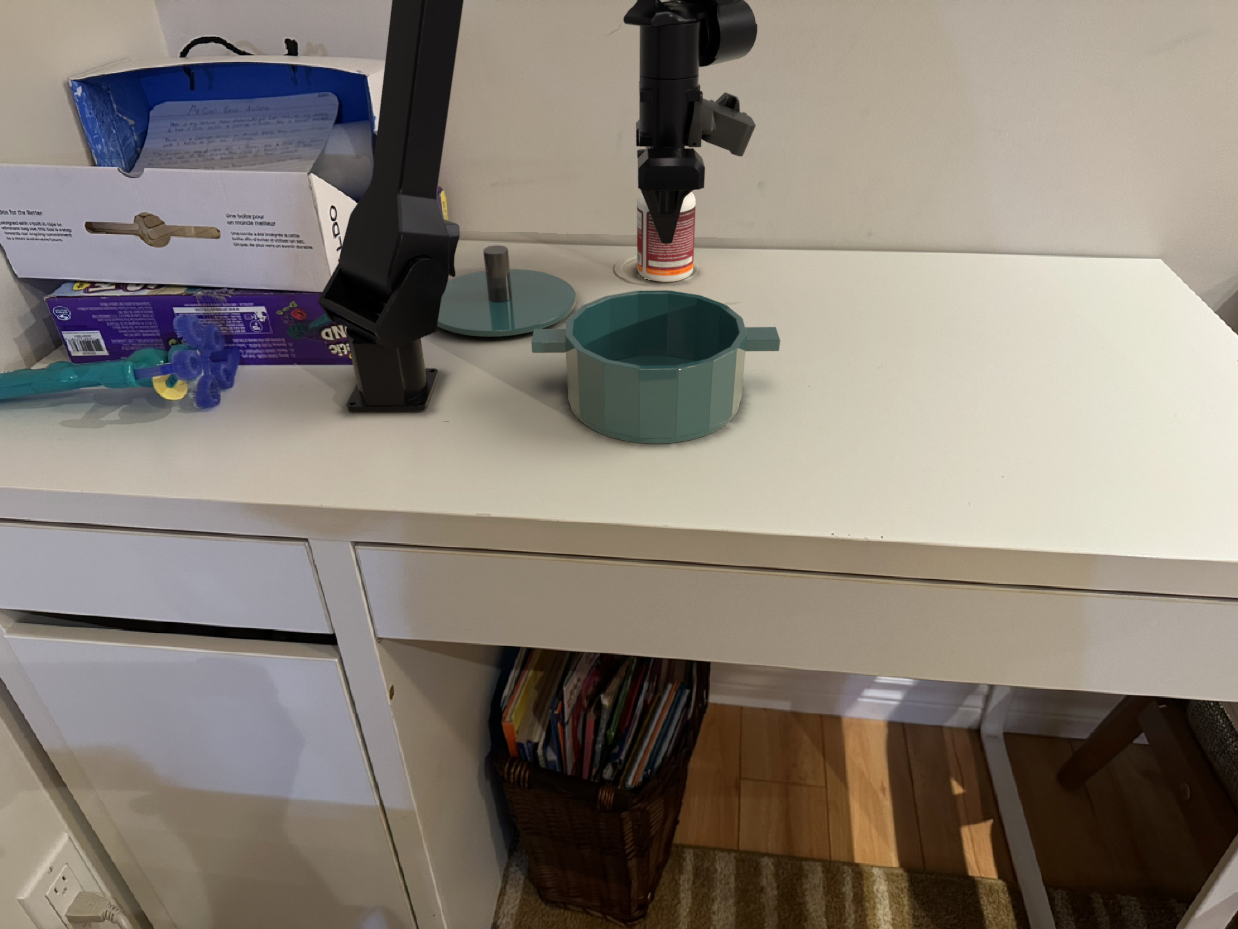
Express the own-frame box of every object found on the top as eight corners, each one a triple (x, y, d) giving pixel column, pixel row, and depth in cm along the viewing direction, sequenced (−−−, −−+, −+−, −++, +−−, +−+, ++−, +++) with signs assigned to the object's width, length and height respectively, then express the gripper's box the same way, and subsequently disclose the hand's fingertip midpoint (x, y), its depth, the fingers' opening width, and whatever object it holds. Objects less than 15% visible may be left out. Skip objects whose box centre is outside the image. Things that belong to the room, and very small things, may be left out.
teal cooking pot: (784, 443, 65) (794, 368, 61) (529, 444, 65) (523, 370, 61) (760, 356, 76) (766, 289, 72) (543, 358, 76) (539, 291, 73)
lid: (572, 341, 79) (569, 279, 75) (411, 343, 79) (400, 280, 76) (579, 278, 91) (577, 222, 88) (439, 279, 92) (431, 223, 88)
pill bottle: (704, 272, 92) (710, 170, 86) (666, 288, 89) (668, 183, 83) (664, 257, 96) (665, 158, 90) (625, 272, 93) (624, 170, 86)
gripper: (766, 93, 73) (751, 264, 82) (741, 56, 89) (731, 204, 98) (638, 94, 73) (638, 265, 82) (635, 57, 89) (635, 204, 98)
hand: (665, 232), depth 90 cm, fingers closed on pill bottle, 6 cm apart
